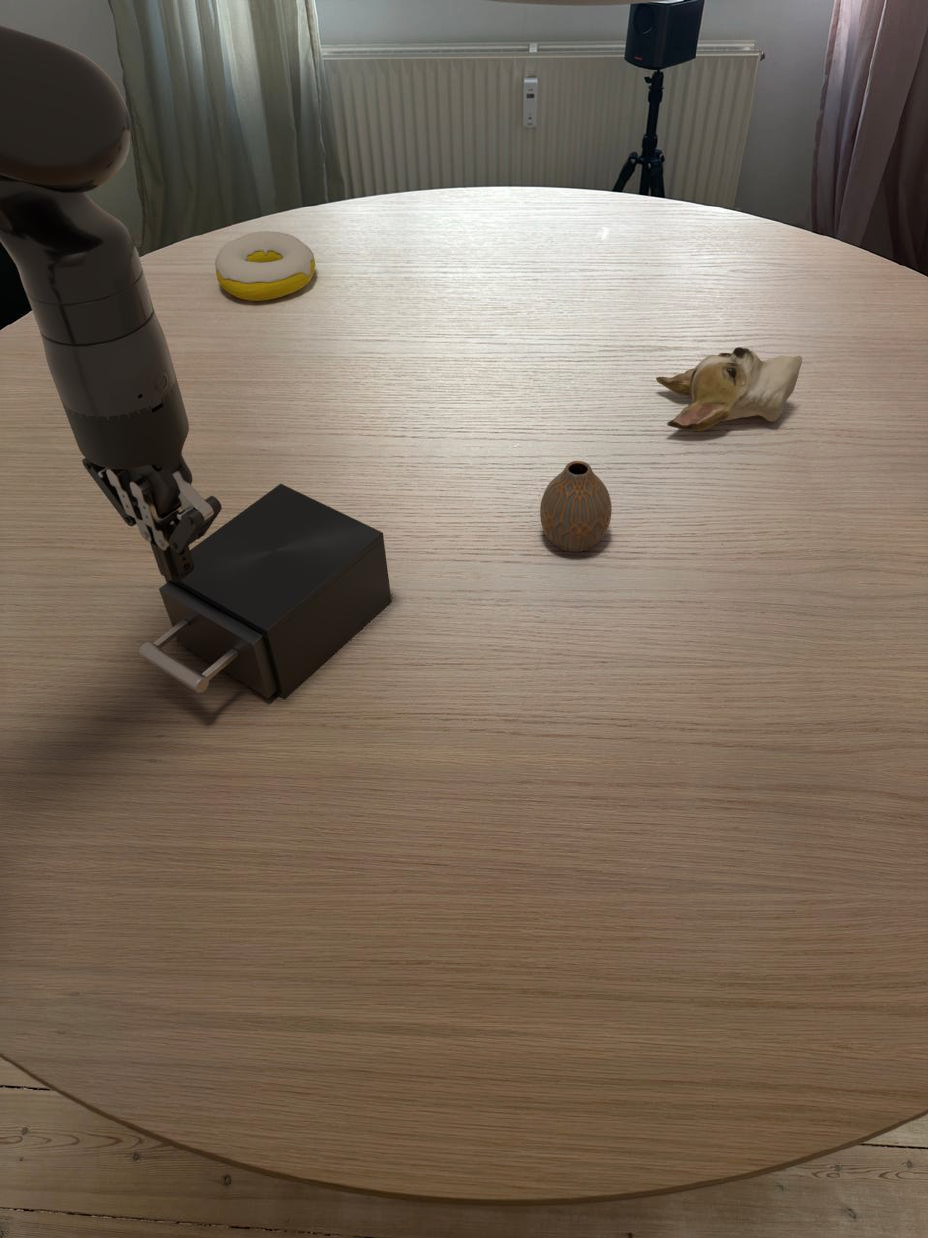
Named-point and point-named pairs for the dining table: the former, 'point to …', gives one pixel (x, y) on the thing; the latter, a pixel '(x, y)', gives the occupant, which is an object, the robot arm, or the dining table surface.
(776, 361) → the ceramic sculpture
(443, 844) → the dining table surface
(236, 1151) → the dining table surface
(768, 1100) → the dining table surface
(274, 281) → the donut
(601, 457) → the dining table surface
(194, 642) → the drawer
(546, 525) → the vase
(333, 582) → the cabinet
